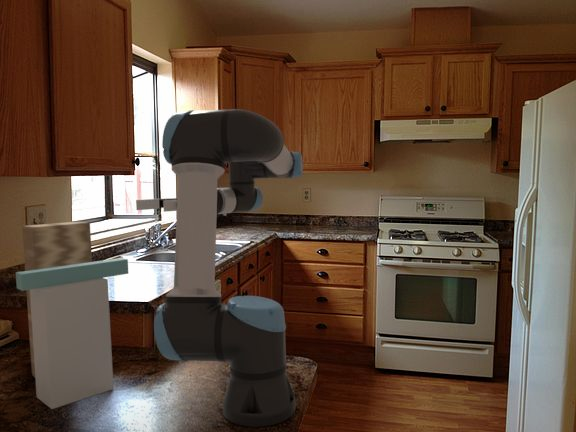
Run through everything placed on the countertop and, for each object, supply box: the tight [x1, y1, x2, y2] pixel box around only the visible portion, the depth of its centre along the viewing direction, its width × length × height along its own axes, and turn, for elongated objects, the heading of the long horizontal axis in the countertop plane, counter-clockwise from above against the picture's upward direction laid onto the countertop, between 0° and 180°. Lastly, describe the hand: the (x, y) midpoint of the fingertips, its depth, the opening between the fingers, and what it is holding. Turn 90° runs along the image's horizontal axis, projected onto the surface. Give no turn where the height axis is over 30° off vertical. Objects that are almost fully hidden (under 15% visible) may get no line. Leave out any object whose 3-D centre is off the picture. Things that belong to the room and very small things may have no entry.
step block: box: [30, 277, 114, 410], centre depth 117 cm, size 14×9×26 cm, turn 135°
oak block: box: [21, 221, 93, 378], centre depth 130 cm, size 14×7×38 cm, turn 135°
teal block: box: [15, 257, 129, 292], centre depth 117 cm, size 24×4×4 cm, turn 135°
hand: (149, 205), depth 131 cm, fingers open, 13 cm apart
